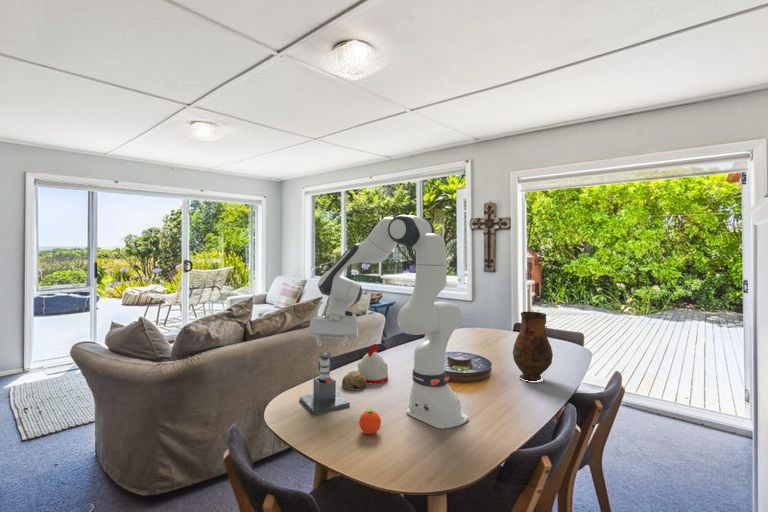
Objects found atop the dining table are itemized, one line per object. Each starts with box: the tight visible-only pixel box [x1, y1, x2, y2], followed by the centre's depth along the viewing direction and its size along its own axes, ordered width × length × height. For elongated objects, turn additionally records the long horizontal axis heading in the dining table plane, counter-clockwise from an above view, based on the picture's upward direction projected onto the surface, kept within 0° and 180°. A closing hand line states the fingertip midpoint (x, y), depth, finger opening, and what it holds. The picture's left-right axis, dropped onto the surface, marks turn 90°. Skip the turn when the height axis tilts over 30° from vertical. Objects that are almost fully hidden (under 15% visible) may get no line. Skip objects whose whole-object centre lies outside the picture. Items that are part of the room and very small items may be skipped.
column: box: [318, 351, 332, 383], centre depth 141 cm, size 5×5×17 cm
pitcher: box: [512, 311, 554, 381], centre depth 172 cm, size 17×21×30 cm
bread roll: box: [341, 370, 367, 391], centre depth 160 cm, size 10×10×8 cm
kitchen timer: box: [357, 343, 389, 385], centre depth 169 cm, size 14×14×15 cm
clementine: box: [358, 408, 382, 435], centre depth 121 cm, size 8×7×7 cm
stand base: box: [299, 376, 351, 416], centre depth 142 cm, size 14×14×10 cm
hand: (330, 346), depth 150 cm, fingers open, 8 cm apart
